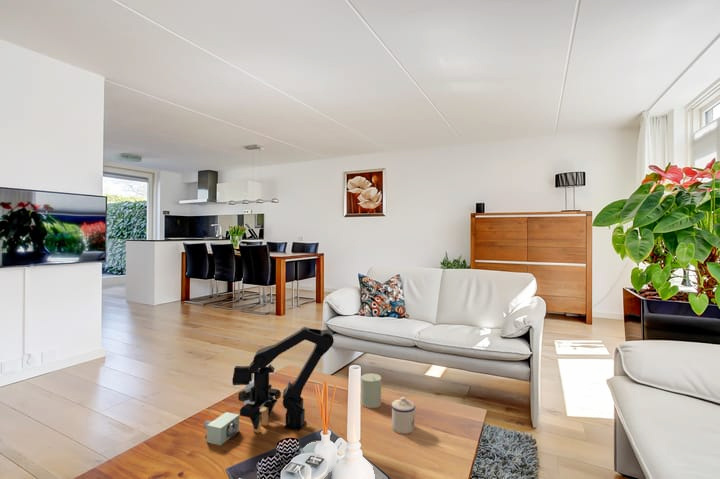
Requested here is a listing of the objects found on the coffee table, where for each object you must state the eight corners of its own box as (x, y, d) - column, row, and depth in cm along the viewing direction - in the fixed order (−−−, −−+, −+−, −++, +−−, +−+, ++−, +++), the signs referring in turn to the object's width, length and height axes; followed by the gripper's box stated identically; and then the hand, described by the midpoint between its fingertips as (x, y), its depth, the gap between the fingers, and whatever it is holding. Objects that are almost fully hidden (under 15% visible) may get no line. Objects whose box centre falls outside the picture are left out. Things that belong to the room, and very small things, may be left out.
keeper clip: (268, 424, 135) (268, 407, 136) (258, 432, 129) (258, 415, 129) (263, 423, 136) (263, 406, 136) (253, 431, 130) (253, 414, 130)
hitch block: (239, 430, 131) (239, 414, 131) (220, 445, 121) (220, 428, 121) (226, 427, 133) (226, 412, 133) (206, 442, 123) (206, 425, 123)
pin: (237, 433, 127) (237, 421, 128) (229, 439, 123) (229, 427, 123) (210, 427, 132) (210, 415, 132) (201, 433, 127) (201, 421, 127)
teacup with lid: (418, 433, 130) (418, 402, 130) (394, 435, 129) (394, 403, 129) (408, 417, 142) (409, 388, 142) (387, 418, 141) (387, 390, 141)
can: (367, 410, 148) (367, 381, 148) (356, 401, 156) (357, 374, 156) (385, 405, 152) (385, 377, 153) (374, 396, 160) (374, 370, 160)
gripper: (258, 372, 144) (257, 409, 144) (227, 390, 127) (227, 433, 127) (281, 375, 141) (281, 414, 141) (253, 395, 123) (252, 439, 123)
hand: (261, 424), depth 133 cm, fingers closed on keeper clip, 6 cm apart
